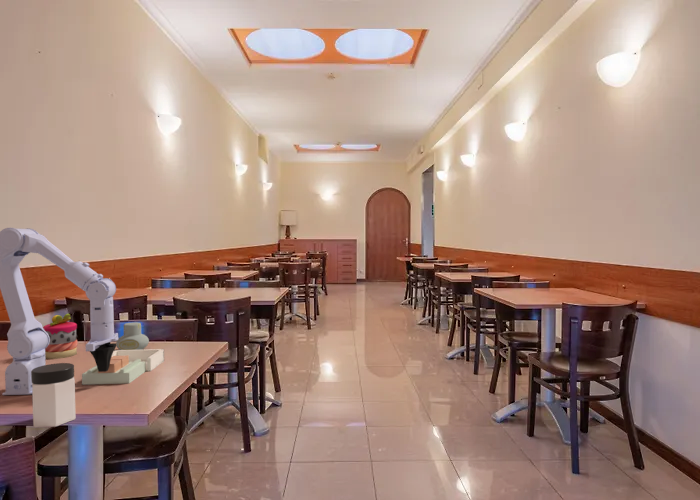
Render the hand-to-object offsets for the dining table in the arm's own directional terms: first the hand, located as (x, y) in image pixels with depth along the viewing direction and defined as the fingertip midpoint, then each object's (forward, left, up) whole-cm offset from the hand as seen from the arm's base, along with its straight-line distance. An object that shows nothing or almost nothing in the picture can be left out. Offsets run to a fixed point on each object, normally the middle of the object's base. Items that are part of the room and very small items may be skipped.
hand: (103, 371), depth 129 cm
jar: (-25, -1, -4) cm, 26 cm away
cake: (+37, +32, -4) cm, 49 cm away
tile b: (+9, 0, -1) cm, 9 cm away
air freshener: (+42, +9, -4) cm, 43 cm away
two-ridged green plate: (+7, 0, -4) cm, 8 cm away
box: (+19, 0, -4) cm, 20 cm away
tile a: (+4, 0, -1) cm, 4 cm away
